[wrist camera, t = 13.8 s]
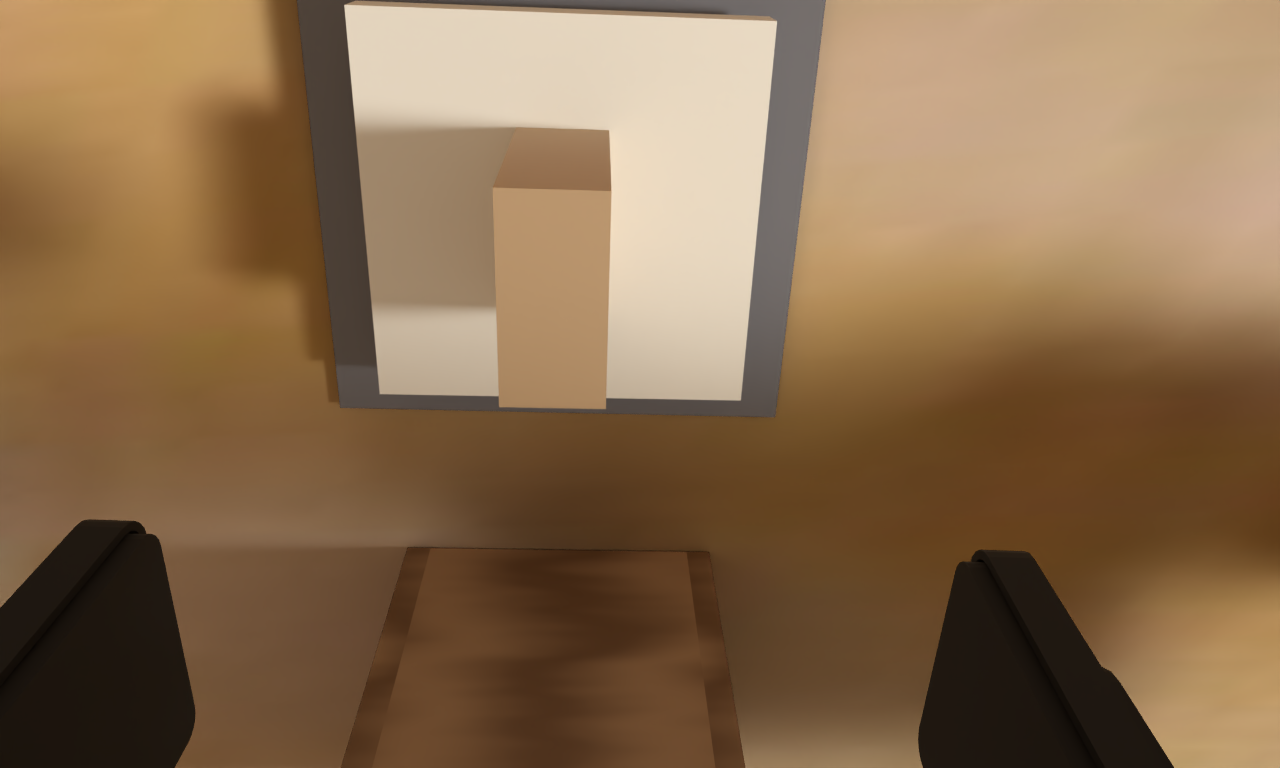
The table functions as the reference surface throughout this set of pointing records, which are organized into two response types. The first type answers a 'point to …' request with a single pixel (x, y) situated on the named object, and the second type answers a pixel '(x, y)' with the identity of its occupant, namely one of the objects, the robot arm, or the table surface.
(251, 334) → the table surface
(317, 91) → the mat
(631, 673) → the box
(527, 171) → the lid
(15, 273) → the table surface
